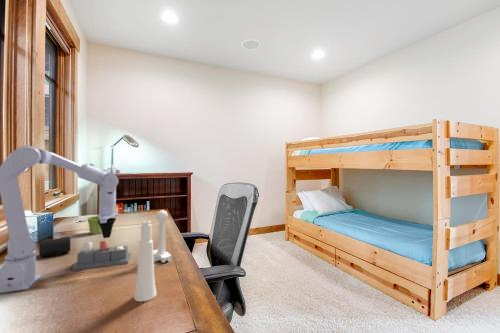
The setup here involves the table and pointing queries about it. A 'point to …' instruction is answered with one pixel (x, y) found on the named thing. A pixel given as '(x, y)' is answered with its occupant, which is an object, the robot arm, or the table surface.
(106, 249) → the salmon rounded peg
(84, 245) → the near ivory plug
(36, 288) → the table surface
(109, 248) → the socket strip
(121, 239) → the table surface
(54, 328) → the table surface
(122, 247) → the far ivory plug
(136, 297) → the cosmetic bottle
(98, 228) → the plant pot
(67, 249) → the end cap
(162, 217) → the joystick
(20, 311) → the table surface
